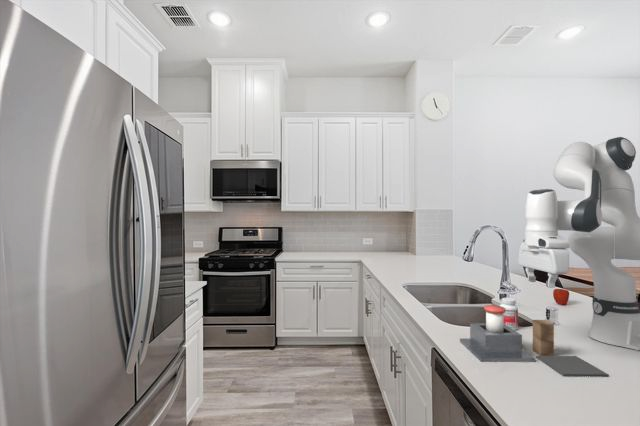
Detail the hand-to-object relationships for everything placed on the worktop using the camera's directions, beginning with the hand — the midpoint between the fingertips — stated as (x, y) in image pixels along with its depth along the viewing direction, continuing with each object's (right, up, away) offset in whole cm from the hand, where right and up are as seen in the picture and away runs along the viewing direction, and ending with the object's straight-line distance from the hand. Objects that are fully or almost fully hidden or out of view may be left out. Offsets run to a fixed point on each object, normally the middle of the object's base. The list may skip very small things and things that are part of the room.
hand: (540, 284), depth 108 cm
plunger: (-14, -17, +2) cm, 22 cm away
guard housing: (-14, -22, +2) cm, 26 cm away
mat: (+2, -22, -10) cm, 24 cm away
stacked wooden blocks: (0, -22, -1) cm, 22 cm away
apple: (+46, -22, +57) cm, 76 cm away
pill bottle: (+3, -22, +23) cm, 32 cm away
